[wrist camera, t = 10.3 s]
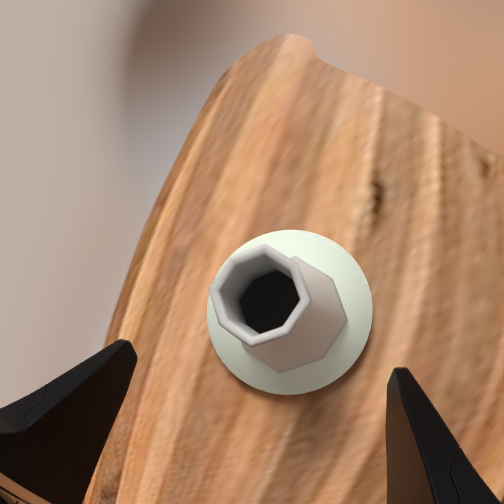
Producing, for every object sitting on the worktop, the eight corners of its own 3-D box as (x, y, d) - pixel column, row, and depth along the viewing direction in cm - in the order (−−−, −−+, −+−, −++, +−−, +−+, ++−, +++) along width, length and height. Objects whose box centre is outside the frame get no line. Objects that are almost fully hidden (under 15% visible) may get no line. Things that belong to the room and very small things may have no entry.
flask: (367, 322, 17) (417, 308, 8) (277, 391, 17) (235, 445, 8) (297, 238, 20) (277, 154, 10) (213, 304, 20) (126, 276, 11)
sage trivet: (380, 375, 17) (383, 377, 16) (222, 398, 19) (217, 401, 18) (351, 221, 20) (352, 216, 19) (204, 250, 22) (199, 247, 21)
